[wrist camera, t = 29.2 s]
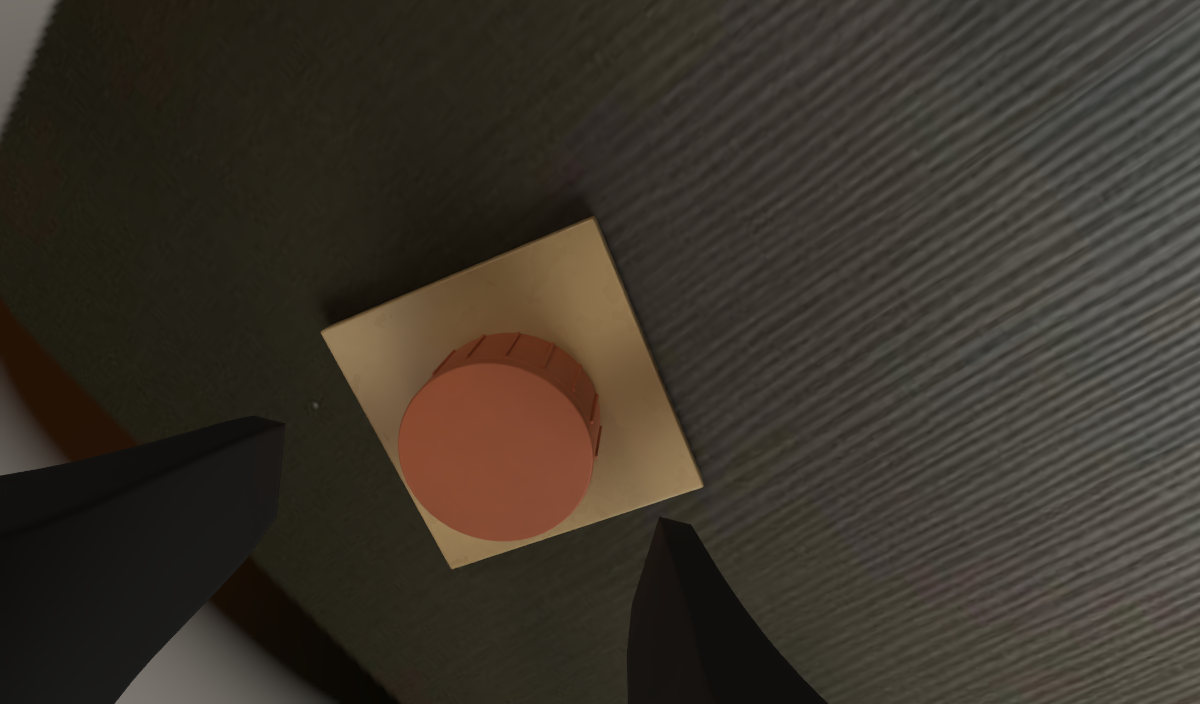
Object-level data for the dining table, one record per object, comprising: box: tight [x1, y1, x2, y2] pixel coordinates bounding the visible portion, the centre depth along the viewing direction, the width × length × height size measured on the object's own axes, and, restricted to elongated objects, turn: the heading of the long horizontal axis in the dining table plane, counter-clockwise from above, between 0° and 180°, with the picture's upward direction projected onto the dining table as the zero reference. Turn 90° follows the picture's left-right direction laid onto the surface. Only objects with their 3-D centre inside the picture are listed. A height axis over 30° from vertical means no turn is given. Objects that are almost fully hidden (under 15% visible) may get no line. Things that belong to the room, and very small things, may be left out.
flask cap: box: [398, 332, 602, 541], centre depth 16 cm, size 4×4×2 cm
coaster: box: [321, 216, 703, 569], centre depth 17 cm, size 8×8×1 cm
